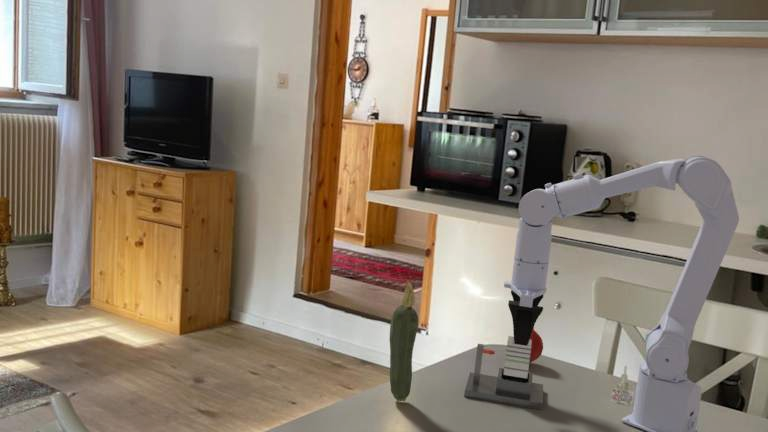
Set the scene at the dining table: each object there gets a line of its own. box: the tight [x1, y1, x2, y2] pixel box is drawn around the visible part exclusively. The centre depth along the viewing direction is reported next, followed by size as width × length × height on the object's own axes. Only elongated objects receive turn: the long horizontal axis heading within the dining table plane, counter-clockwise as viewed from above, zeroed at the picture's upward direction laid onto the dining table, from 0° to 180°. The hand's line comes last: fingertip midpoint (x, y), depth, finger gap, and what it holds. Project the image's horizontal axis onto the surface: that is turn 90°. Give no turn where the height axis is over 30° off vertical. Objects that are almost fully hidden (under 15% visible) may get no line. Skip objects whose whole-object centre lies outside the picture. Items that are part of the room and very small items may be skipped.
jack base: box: [463, 343, 544, 411], centre depth 127 cm, size 13×9×8 cm
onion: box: [529, 326, 544, 364], centre depth 144 cm, size 6×6×8 cm
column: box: [503, 335, 532, 379], centre depth 127 cm, size 4×4×6 cm
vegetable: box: [389, 280, 419, 403], centre depth 118 cm, size 4×4×20 cm
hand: (521, 337), depth 126 cm, fingers open, 7 cm apart
